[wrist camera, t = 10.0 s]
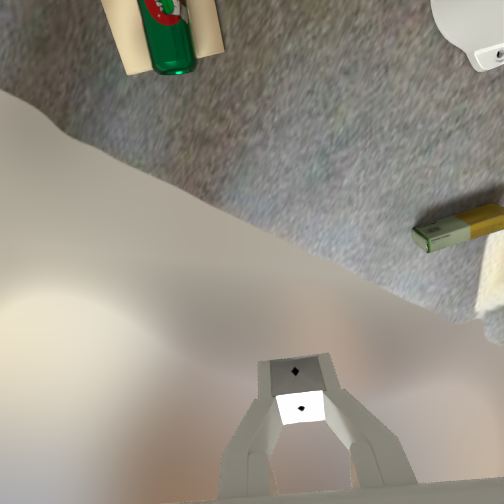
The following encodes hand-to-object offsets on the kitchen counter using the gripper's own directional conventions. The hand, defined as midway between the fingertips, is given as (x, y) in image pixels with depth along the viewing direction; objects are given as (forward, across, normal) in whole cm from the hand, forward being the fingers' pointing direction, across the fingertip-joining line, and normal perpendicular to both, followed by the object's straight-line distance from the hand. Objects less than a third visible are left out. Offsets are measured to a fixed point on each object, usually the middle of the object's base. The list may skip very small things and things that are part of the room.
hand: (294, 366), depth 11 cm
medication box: (+32, -28, +12) cm, 43 cm away
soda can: (+28, +8, -15) cm, 33 cm away
